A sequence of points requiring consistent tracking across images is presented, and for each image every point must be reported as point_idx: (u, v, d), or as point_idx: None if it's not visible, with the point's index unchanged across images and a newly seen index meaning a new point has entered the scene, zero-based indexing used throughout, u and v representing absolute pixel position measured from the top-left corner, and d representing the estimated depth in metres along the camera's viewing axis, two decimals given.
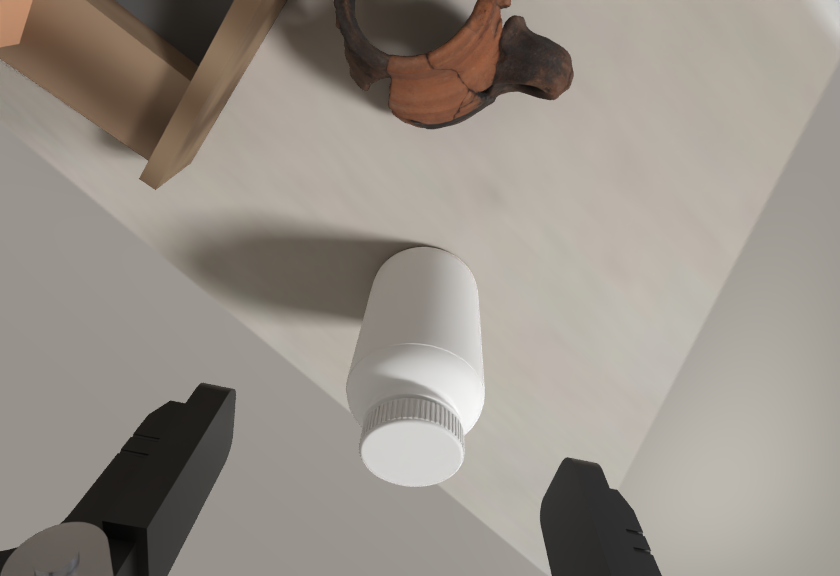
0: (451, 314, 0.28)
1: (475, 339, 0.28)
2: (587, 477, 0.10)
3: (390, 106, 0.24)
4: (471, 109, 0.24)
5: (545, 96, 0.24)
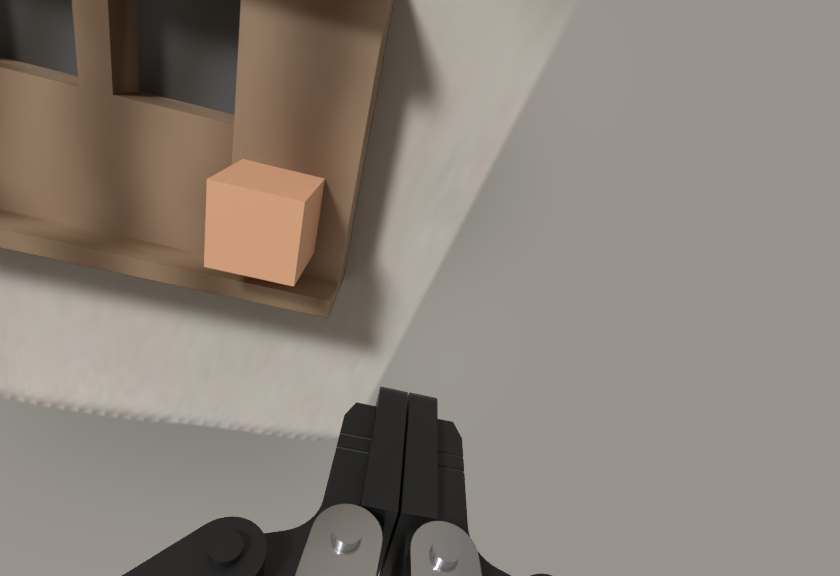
0: None
1: None
2: (418, 407, 0.11)
3: None
4: None
5: None
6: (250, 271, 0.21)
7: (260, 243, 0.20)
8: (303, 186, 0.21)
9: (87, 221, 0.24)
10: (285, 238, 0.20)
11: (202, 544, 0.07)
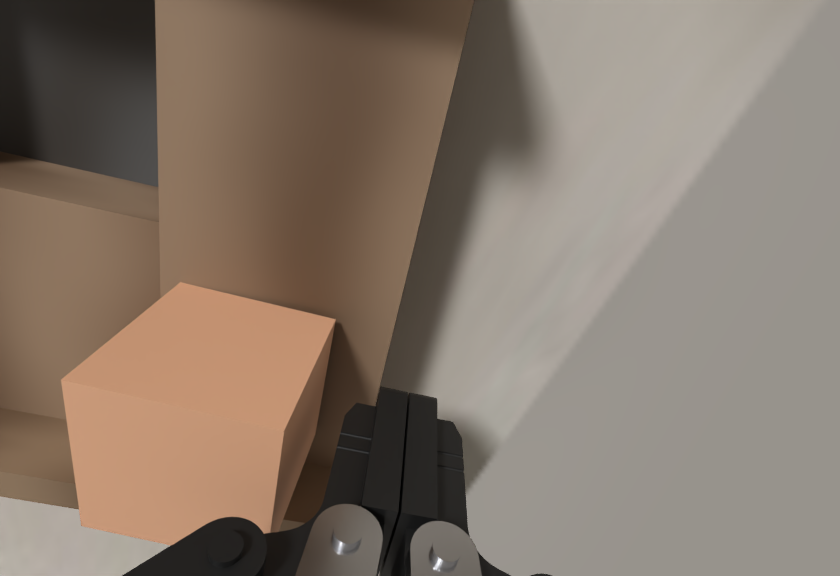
0: None
1: None
2: (418, 407, 0.11)
3: None
4: None
5: None
6: (175, 538, 0.10)
7: (191, 495, 0.09)
8: (288, 360, 0.10)
9: None
10: (244, 490, 0.09)
11: (202, 544, 0.07)
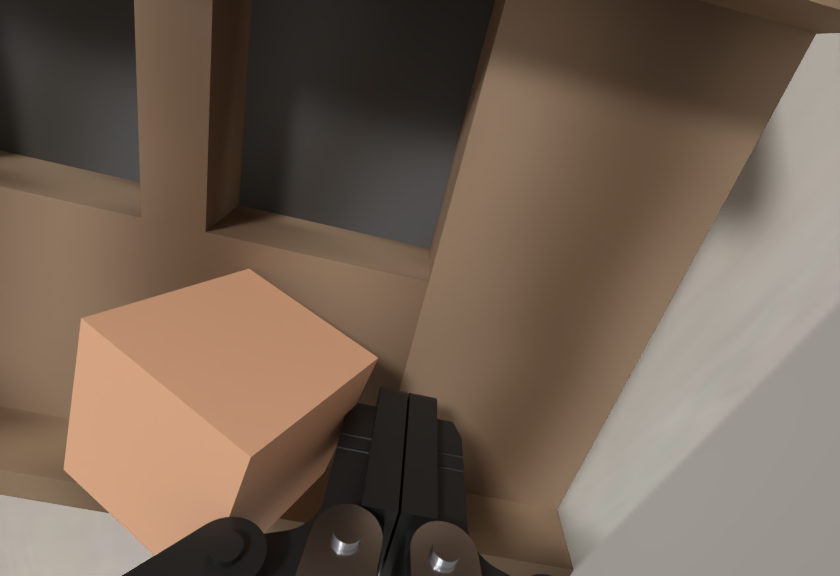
0: None
1: None
2: (418, 407, 0.11)
3: None
4: None
5: None
6: (130, 523, 0.09)
7: (153, 485, 0.09)
8: (303, 381, 0.09)
9: None
10: (200, 504, 0.08)
11: (202, 544, 0.07)
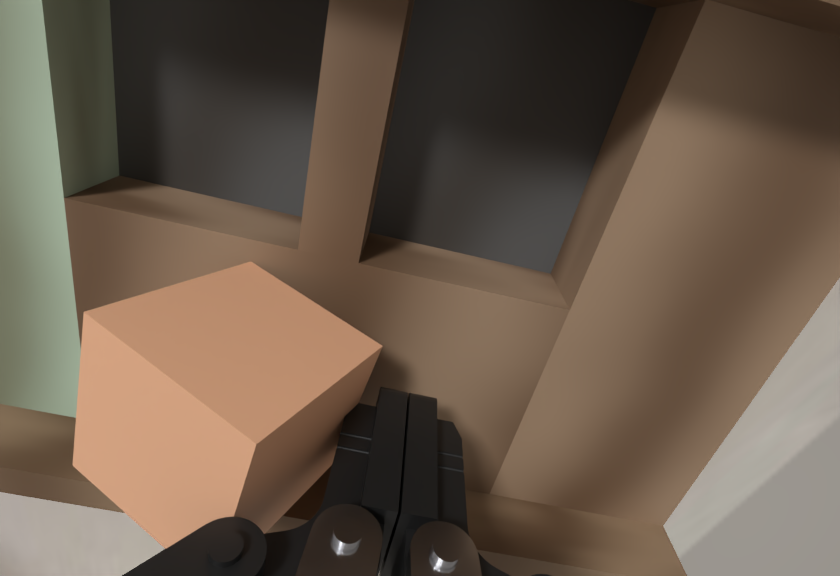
0: None
1: None
2: (418, 407, 0.11)
3: None
4: None
5: None
6: (140, 517, 0.09)
7: (161, 477, 0.09)
8: (308, 370, 0.09)
9: None
10: (207, 495, 0.08)
11: (202, 544, 0.07)
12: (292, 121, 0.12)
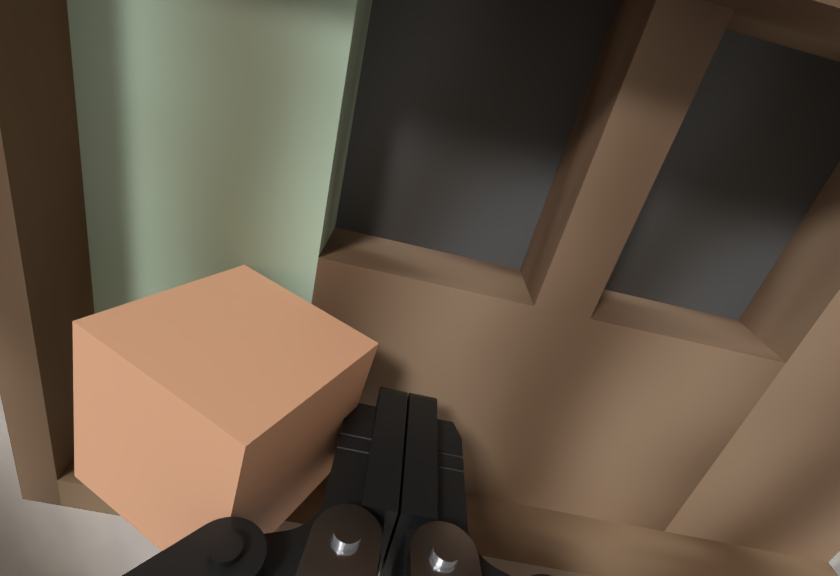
0: None
1: None
2: (418, 407, 0.11)
3: None
4: None
5: None
6: (141, 525, 0.09)
7: (157, 484, 0.09)
8: (300, 370, 0.09)
9: None
10: (203, 499, 0.08)
11: (202, 544, 0.07)
12: (515, 178, 0.13)
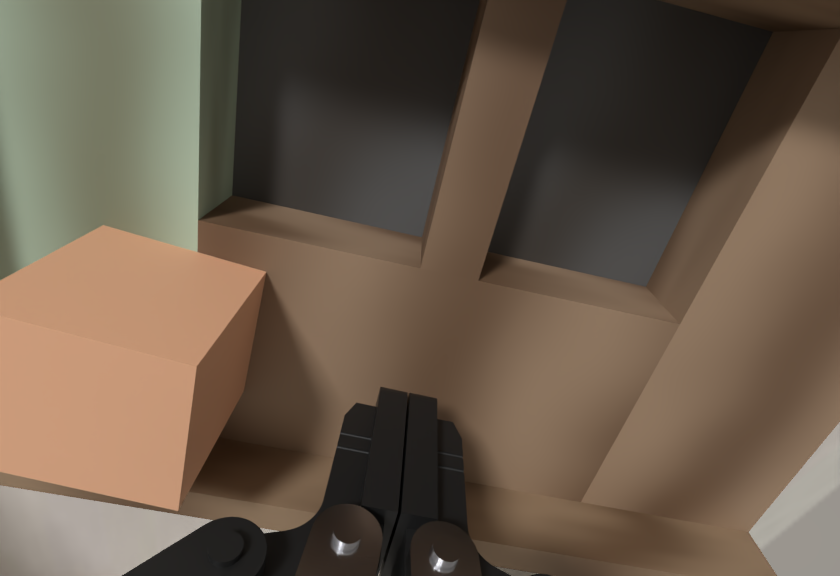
0: None
1: None
2: (418, 407, 0.11)
3: None
4: None
5: None
6: (82, 481, 0.10)
7: (98, 435, 0.09)
8: (210, 303, 0.10)
9: None
10: (155, 429, 0.09)
11: (202, 544, 0.07)
12: (407, 142, 0.13)
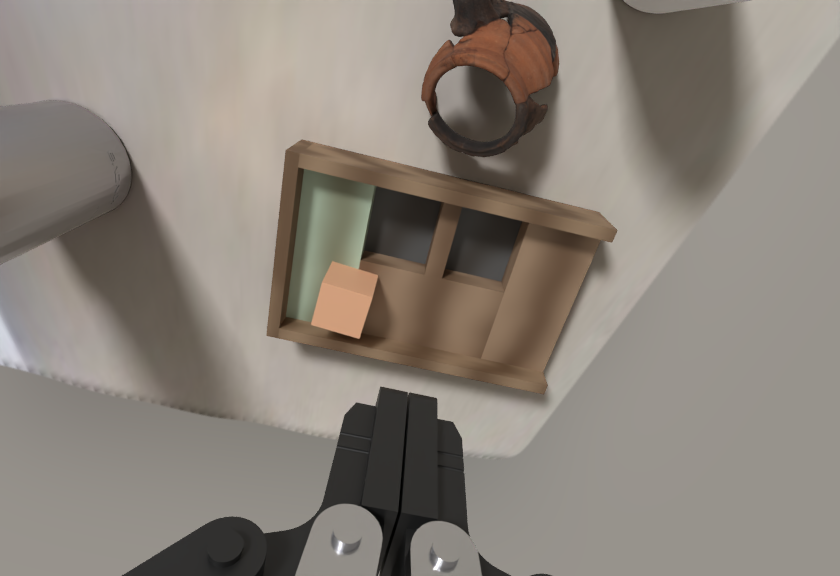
0: None
1: None
2: (418, 407, 0.11)
3: (549, 83, 0.31)
4: (524, 20, 0.30)
5: None
6: (336, 329, 0.38)
7: (344, 315, 0.37)
8: (368, 283, 0.38)
9: (405, 338, 0.43)
10: (359, 314, 0.37)
11: (202, 544, 0.07)
12: (420, 235, 0.41)
